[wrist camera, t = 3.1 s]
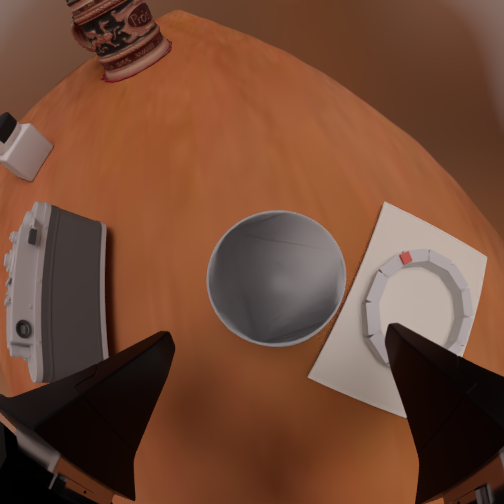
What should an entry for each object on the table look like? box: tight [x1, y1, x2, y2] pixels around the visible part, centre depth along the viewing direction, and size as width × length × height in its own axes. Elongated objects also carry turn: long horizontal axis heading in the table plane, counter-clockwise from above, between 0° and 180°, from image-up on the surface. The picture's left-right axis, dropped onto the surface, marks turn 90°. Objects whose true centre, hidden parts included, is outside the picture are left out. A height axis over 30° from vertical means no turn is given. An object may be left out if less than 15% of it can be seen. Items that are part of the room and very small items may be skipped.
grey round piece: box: [207, 210, 346, 347], centre depth 16 cm, size 6×6×11 cm
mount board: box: [307, 202, 487, 418], centre depth 18 cm, size 16×12×3 cm
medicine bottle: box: [0, 112, 53, 181], centre depth 30 cm, size 7×7×12 cm
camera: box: [4, 201, 109, 383], centre depth 20 cm, size 9×16×10 cm, turn 9°
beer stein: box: [66, 0, 172, 82], centre depth 28 cm, size 17×28×18 cm
